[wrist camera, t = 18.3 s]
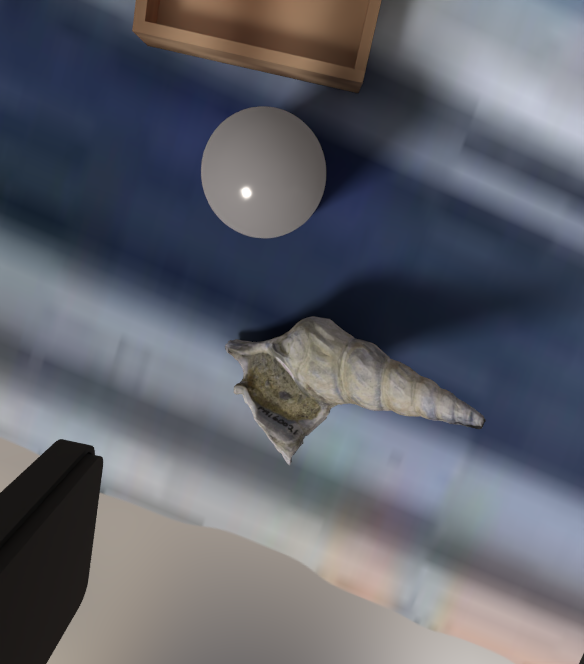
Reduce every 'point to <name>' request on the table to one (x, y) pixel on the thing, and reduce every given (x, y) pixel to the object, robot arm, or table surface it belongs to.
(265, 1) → the walnut tray
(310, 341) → the seashell
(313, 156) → the grey rounded cylinder
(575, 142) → the table surface
